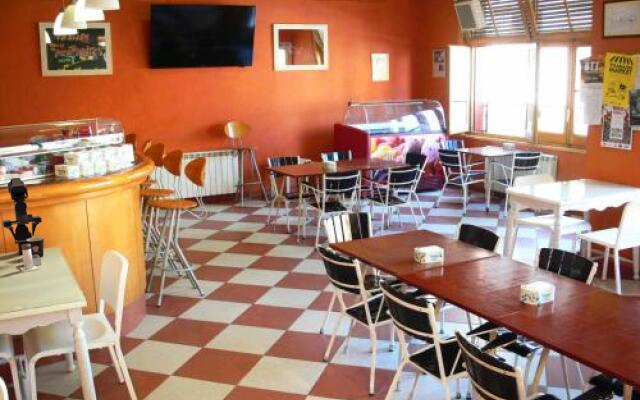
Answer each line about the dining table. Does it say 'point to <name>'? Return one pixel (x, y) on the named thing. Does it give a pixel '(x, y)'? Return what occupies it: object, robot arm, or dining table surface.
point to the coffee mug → (36, 245)
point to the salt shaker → (27, 256)
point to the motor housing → (35, 260)
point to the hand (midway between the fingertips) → (23, 237)
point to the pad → (28, 269)
